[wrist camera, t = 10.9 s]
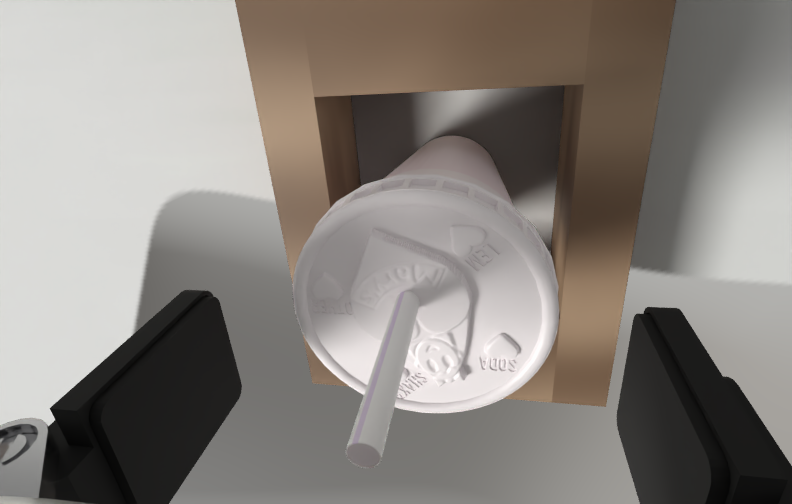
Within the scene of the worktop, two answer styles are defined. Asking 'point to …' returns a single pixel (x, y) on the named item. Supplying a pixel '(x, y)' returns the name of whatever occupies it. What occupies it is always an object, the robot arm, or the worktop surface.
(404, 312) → the smoothie
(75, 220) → the worktop surface
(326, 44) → the cutout board
